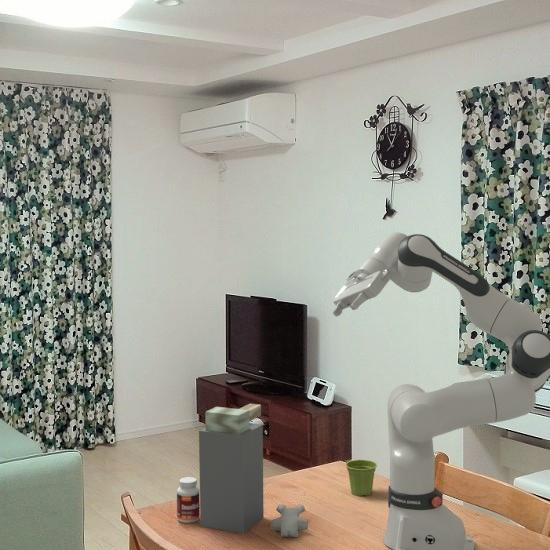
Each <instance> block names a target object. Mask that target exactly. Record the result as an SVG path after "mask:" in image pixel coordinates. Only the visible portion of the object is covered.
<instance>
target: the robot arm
mask: <svg viewBox="0 0 550 550" xmlns="http://www.w3.org/2000/svg"><path fill="white" fill-rule="evenodd" d="M433 273H434V274H436V275H438V276H439V277H441V278H442V279H444V280H445V281H447V282H448V283H450V284H451V285H453V286H454V287H455V288H456V289H457V290H458V292H459V293H460V296H461V298H462V301H463V303H464V308H465V312H466V316H467V317H468V320H469V322H470V323H471V324H473V325H474V326H475V327H477V328H478V329H479V330H480V331H482V332H484V333H486V334H487V335H489V336H491V337H494V338H495V339H498V340H500V341H501V342H503V343H504V344H505V345H506V346H507V348H508V351H509V352H508V354H507V355H506V356H507V357H506V360H505V361H506V362H505V365H504V370H503V374H502V375H500V376H495V377H494V376H493V377H486V378H479V379H475V380H474V379H473V380H467V381H459V382H455V383H452V384H451V385H448V386H446V387H443V388H439V389H437V390H433V391H429V392H425V390H423V388H421V387H420V386H418V385H414V384H410V383H409V384H400V385H398V386H396V387H395V388H394V389H393V390H392V391H391V392H390V395H389V397H388V399H387V429H388V442H389V443H388V445H389V461H390V462H389V485H388V490H387V505H388V506H387V507H388V517H387V524H386V529H385V533H384V536H383V542H384V545H386V546H387V547H389V548H390V549H392V550H475V549H476V543H475V540H474V539H473V538H472V537H471V536H470V535H469V536H468V535H466V528H465V524H464V522H463V520H462V518H460V517H459V516H458V515H457V514H456V513H454V511H452V510H451V509H450V508H448V507H447V506H446V505H445V504H444V503H443V500H444V499H443V496H444V490H443V489H441V491H440V490H438V488H436V487H435V480H436V479H435V475H436V474H435V470H436V469H435V466H436V463H435V462H436V457H435V452H434V442H433V441H434V440H433V438H435V437H438V436H441V435H444V434H448V433H450V432H453V431H456V430H460V429H463V428H467V427H474V426H481V425H488V424H489V425H490V424H495V423H501V422H505V421H510V420H512V419H513V420H514V419H517V418H520V417H524V416H526V415H528V414H530V413H531V412H532V411H533V410H534V408H535V405H536V402H537V396H536V393H537V392H539V391H540V390H541V389H542V388H543V387H544V385H545V384H546V382H547V380H548V378H549V376H550V334H548V333H546V332H545V331H543V321H542V319H541V317H539V316H538V314H536V313H535V312H533V311H532V310H531V309H529V308H528V307H526V306H525V305H524V304H522V303H520V302H518V301H517V300H515V299H513V298H511V297H509V296H507V295H505V294H504V293H503V292H501V291H500V290H497V288H495V287H493V285H491V283H489V282H488V280H486V278H485V277H484V276H483V275H481V274H480V273H479V272H477V271H476V270H474V269H473V268H471V267H470V266H469V265H467V264H465V263H464V262H462V261H460V260H459V259H457V258H455V256H453V255H451V254H450V253H448V252H447V251H445V250H444V249H442V248H441V247H440V246H439V245H438V244H437V242H435V240H433V239H432V238H431V237H429V236H428V235H424V234H421V233H416V234H415V233H414V234H410V235H406V234H404V233H402V232H391V233H390V234H387V236H384V238H383V239H382V240H381V241H380V242H379V243H378V244H377V245H376V247H374V249H372V252H371V254H370V255H369V256H368V257H366V259H364V261H363V262H362V263H361V264H360V265H359V266H358V267H357V269H355V271H353V272H351V273H350V275H348V277H347V278H346V282H345V283H344V284H343V286H342V287H341V288H340V290H339V291H338V292H337V294H336V295H335V296H334V298H333V301H332V302H333V304H334V305H335V308H334V310H333V311H332V314H333V316H335V317H336V318H337V317H339V316H341V315H342V314H343V311H344V310H345V309H348V308H350V309H351V310H352V311H356V310H358V309H359V307H360V306H361V305H363V304H364V303H365V302H366V301H368V300H371V299H373V298H376V297H378V295H379V294H381V292H382V291H383V289H384V288H385V287H386V285H388V283H389V282H390V281H391V282H393V283H394V284H395V285H396V286H398V287H399V288H401V289H403V290H405V291H406V292H408V293H409V292H410V293H420V292H422V291H425V290H426V289H427V288H428V287H429V286H430V285H431V281H432V277H433Z"/></svg>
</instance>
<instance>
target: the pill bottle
mask: <svg viewBox="0 0 550 550" xmlns="http://www.w3.org/2000/svg"><path fill="white" fill-rule="evenodd" d="M197 480H198V479H197V478H196V477H192V476H186V477H182V478H180V479H179V487H178V488H177V490H176V519H177V521H179V522H181V523H184V524H190V523H194V522H197V521H198V520H199V519H200V487H198V485H197V484H198V483H197V482H198V481H197Z"/></svg>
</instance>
